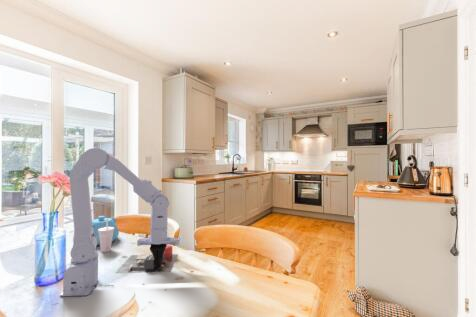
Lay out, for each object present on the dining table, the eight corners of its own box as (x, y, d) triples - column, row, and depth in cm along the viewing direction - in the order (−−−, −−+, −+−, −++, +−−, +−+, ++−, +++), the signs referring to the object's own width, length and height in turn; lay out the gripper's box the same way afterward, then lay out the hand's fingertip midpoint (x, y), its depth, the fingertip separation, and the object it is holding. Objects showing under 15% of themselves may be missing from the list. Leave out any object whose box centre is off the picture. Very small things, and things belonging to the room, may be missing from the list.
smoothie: (117, 248, 105) (117, 217, 105) (107, 253, 99) (108, 221, 99) (103, 247, 106) (104, 217, 106) (93, 252, 99) (94, 220, 99)
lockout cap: (171, 259, 91) (171, 248, 91) (160, 259, 91) (160, 249, 91) (173, 254, 95) (173, 245, 95) (163, 255, 95) (163, 245, 95)
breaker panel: (170, 274, 81) (170, 268, 81) (114, 276, 79) (114, 270, 79) (178, 257, 96) (178, 251, 96) (131, 258, 94) (131, 252, 94)
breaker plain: (153, 269, 81) (153, 259, 81) (144, 269, 81) (144, 259, 81) (155, 264, 84) (156, 255, 84) (147, 265, 84) (147, 256, 84)
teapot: (98, 250, 102) (98, 222, 102) (61, 247, 106) (61, 219, 106) (128, 236, 121) (128, 212, 121) (95, 234, 125) (96, 210, 125)
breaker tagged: (162, 263, 85) (162, 254, 85) (153, 264, 85) (154, 254, 85) (164, 260, 88) (164, 251, 88) (156, 260, 88) (156, 251, 88)
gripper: (181, 223, 87) (180, 259, 87) (142, 224, 86) (141, 260, 86) (177, 229, 80) (177, 268, 80) (135, 229, 79) (134, 269, 79)
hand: (158, 264), depth 83 cm, fingers closed
